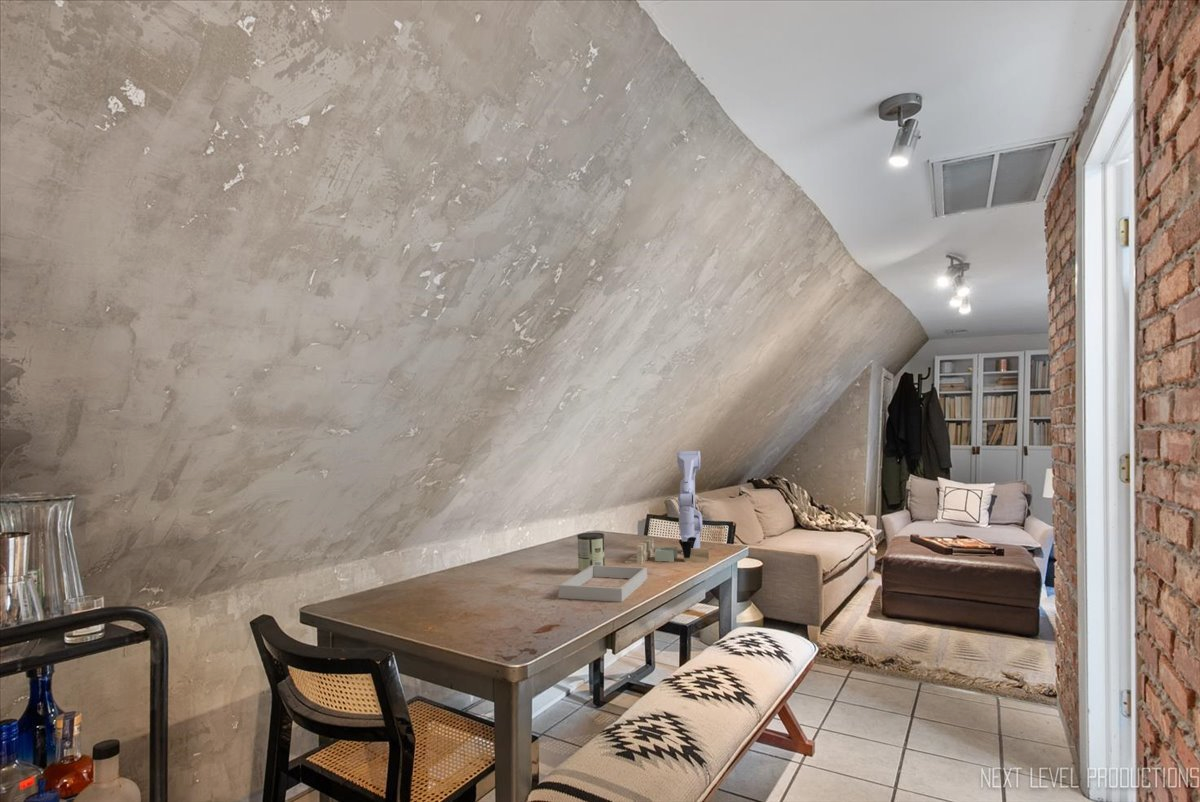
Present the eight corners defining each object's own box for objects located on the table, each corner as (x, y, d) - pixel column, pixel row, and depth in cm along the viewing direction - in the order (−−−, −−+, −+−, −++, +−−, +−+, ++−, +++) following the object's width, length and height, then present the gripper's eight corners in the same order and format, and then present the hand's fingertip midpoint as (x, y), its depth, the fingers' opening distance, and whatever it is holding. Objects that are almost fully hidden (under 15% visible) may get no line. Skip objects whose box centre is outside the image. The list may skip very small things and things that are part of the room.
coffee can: (587, 568, 246) (586, 531, 247) (610, 570, 241) (609, 533, 242) (572, 573, 238) (571, 535, 238) (595, 576, 232) (594, 537, 233)
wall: (638, 554, 273) (637, 537, 273) (653, 554, 270) (653, 538, 271) (625, 563, 254) (624, 545, 254) (641, 564, 251) (641, 546, 252)
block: (660, 557, 264) (659, 546, 264) (677, 558, 262) (677, 547, 262) (655, 561, 256) (654, 550, 256) (673, 562, 253) (672, 550, 253)
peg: (684, 560, 258) (684, 548, 258) (709, 560, 256) (709, 548, 256) (683, 562, 254) (683, 549, 254) (708, 562, 252) (708, 550, 252)
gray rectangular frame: (591, 576, 232) (591, 565, 232) (647, 579, 225) (647, 567, 225) (558, 597, 201) (558, 585, 202) (621, 601, 195) (621, 588, 195)
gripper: (693, 525, 248) (695, 560, 248) (699, 520, 262) (700, 553, 261) (676, 525, 251) (677, 559, 250) (683, 520, 264) (684, 553, 264)
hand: (688, 556), depth 256 cm, fingers open, 4 cm apart
